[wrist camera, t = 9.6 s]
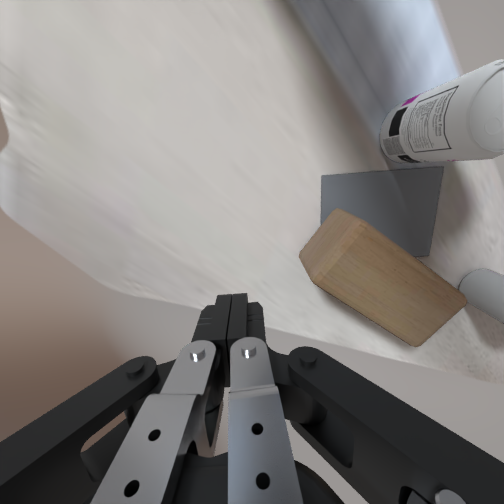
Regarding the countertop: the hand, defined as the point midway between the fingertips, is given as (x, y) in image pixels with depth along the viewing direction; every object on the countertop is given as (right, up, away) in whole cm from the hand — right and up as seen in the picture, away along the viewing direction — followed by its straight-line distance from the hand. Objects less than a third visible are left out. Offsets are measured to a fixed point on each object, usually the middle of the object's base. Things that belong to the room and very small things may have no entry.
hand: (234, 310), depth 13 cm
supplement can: (+23, +20, +23) cm, 38 cm away
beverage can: (+40, -3, +31) cm, 50 cm away
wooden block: (+11, +5, +22) cm, 25 cm away
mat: (+21, +8, +27) cm, 35 cm away
